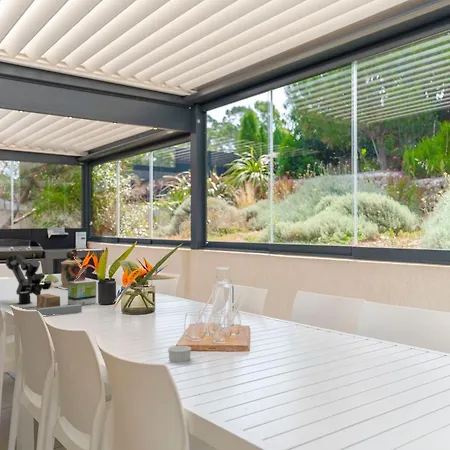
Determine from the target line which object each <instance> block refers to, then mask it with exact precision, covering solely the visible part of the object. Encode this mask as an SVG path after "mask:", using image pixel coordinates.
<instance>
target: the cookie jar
mask: <svg viewBox="0 0 450 450" xmlns="http://www.w3.org/2000/svg"><path fill="white" fill-rule="evenodd" d="M77 249H78V248H76V247H75V248H73V249H70V250H67V252H66V254H65V255H66V257H67V258H66V259H65V260H64V261H61V262H60V265H61V272H60V281H61V284H54V285H53V287H55V288H57V287H58V288H57V289H60V288H61V289H60V290H64V289H65V291H66V290H68V282H73V281H74V280H75V279H76V276H77V274H78V272H79V270H80V267H79V266H78V264H77V262H76V260H77V261H78V262H79V263H80V264H82V263H83V262H84V261H83V260H81V258H79V256H78V250H77ZM73 256H74V257H75V259H76V260H75V259H74V257H73ZM86 273H87V268H86V269H85V271H84V272H83V273H82V274H81V276H80V277H79V278H78V279H77V280H76V281H83V280H86Z"/></svg>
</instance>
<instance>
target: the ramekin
mask: <svg viewBox="0 0 450 450" xmlns="http://www.w3.org/2000/svg"><path fill="white" fill-rule="evenodd" d="M191 351H192V347H191V346H188V345H173V346H170V347H168V348H167V352H168V359H169V361H170V362H172V363H184V362H188V361H190V359H191Z"/></svg>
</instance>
